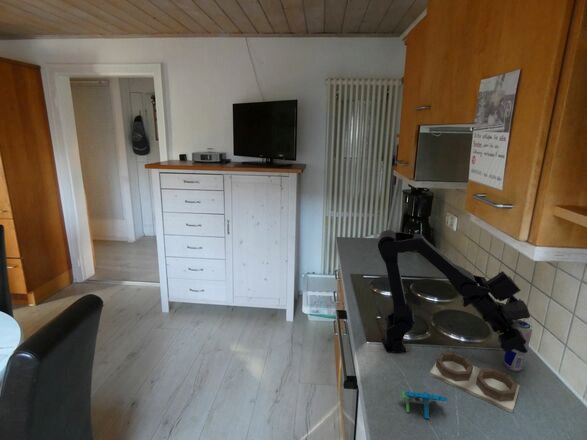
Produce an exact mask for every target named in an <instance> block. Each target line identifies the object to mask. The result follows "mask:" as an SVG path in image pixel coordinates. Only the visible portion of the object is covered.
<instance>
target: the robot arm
mask: <svg viewBox="0 0 587 440" xmlns="http://www.w3.org/2000/svg"><path fill="white" fill-rule="evenodd" d="M377 249H378V251H379V255H380V256H381V257H380V258H382V261H383V262H384V263H385V267H386V273H387V278H388V283H389V288H390V293H391V299H392V303H393V312H391V313H389V314H388V315H387V316H386V321H385V324H386V326H385V335H384V337H385V338H381V343H382V346H383V347H384V350H385V351H386V353H406V352H407V348H406V346H405V345H404V338H405V336H406V334H407V333H408V332H410V331H411V330H412V329H413V325H414V324H415V312H414V310H413V302H412V301H411V302H408V301H407V299H406V295H405V291H404V286H403V285H404V284H403V281H402V275H401V270H400V263H399V253H400V254H401V253H403V254H404V253H407V252H411V251H413V252H414V251H415V252H416V251H417V252H418V253H419V255H421V256H422V257H423V258H424V259H426V260H427V261H428V262H429V263H430V264H431V265H432V266H433V267H435V268H436V270H438V271H439V272H441V273H442V274H443V275H444V276H445V277H446V279H448V281H449V282H450V284H451V285H452V287H453V288H454V289H455V291H456V292H457V293H458V295H460V296H461V303H462V307H464V308H466V307H467V306H469V305H471V306H472V307H473V308H474V309H475V310H476V311H477V312H478V313H479V315H480V316H481V318H482V320H483V321H484V322H485V323H488V325H489V326H490V327H491V330H492V332H494V333H496V332H498V331H499V333H500V335H498V336H497V342H498V344H499V347H500V348H501V350H503V351H504V353H505V352H509V351H512V350H514V349H515V350H517V351H520V352H522V353H526V352H527V353H528V351H529V350H527V349H526V348H525V346H524V344H525V343H526V340H525V338H524V336H523V334H522V333H521V331H519V330H518V329H515V328H512V327H511V325H512V324H514V321H513V320H522V319H526V320H527V319H529V318H531V313H530V310H529V309H528V306H527V304H526V303H525V301H524V300H522V299H521V298H517V297H516V296H515V295H516V294H518V293H519V292H521V291H522V290H521V288H520V287H519V286H518V284H517V283H516V282H515V281H514V279H512V277H511V276H509V275H508V274H507V273H505V271H504V270H502V271H500V272H499V273H497V274H496V275H495V276H492V277H491V278H490V279H488V280H486V277H484V276H481V275H480V276H479V275H475V274H473V273H472V272H471V271H469V270H467V269H466V268H464V267H462V266H460V265H457V264H455V263H454V262H453V261H451V260H450V259H449V257H446V255H444V253H442V252H441V251H440V250H439V249H438V248H437V247H435V246H434V245H433V244H432V243H430V242H429V241H428V240H427V239H426V238H425V236H424V235H422V234H421V233H408V232H403V231H402V232H401V231H395V232H394V231H393V230H390V229H387V230H383V231H382V232H381V233H380V234H379V237H378V242H377ZM497 300H498V301H497ZM505 300H506V301H505ZM503 301H505V303H504V302H503Z"/></svg>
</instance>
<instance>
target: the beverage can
mask: <svg viewBox="0 0 587 440" xmlns="http://www.w3.org/2000/svg"><path fill="white" fill-rule="evenodd" d="M513 321H514V324H512V325H511V327H512V328H515V329H518V330H519V331H521V333H522V334H523V336H524V338H525V340H526V343H525V344H524V346H525V348H526V349H527V351H529V350H528V349H529V345H530V341H531V337H532V333H533V325H532V324H531V323H530V322H528V321H526V320H522V319H519V320H513ZM527 353H528V352H526V353H522V352H520V351H517V350H515V349H514V350H512V351H509V352H505V351H504V357H503V364H504V365H505V366H506V368H507V369H508V370H510V371H513V372H519V371H522V370H524V366H525V362H526V357H527Z"/></svg>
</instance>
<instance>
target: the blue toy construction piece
mask: <svg viewBox="0 0 587 440" xmlns="http://www.w3.org/2000/svg"><path fill="white" fill-rule="evenodd" d="M400 393H401V394H400V396H401V397H402V398H404V399H403V400H404V402H405V405H406V406H405V407H406V408H405V409H406V412H407V413H410V403H415V404H421V405H423V408H424V410H423V413H424V414H423V415H424V418H425V419H430V416H429V414H430V413H429V406H430V402H431V401H441V402H448V397H447V396H443V395H438V394H429V392H428V391H423V392H416V391H413V392H412V391H403V390H401V392H400ZM415 398H417V399H422V401H418V400H412V399H415ZM430 400H431V401H430Z"/></svg>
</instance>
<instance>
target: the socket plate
mask: <svg viewBox="0 0 587 440" xmlns="http://www.w3.org/2000/svg"><path fill="white" fill-rule="evenodd" d="M429 376H431V377H433V378H434V379H435V378H436V379H438V380H439V381H442V382H444V383H447V384H449V385H450V386H452V387H454V388H457V389H459V390H461V391H463V392H466V393H468V394H470V395H472V396H474V397H477V398H478V399H481V400H482V401H484V402H488V403H489V404H492V405H494V406H495V407H498V408H500V409H503V410H504V411H507V412H508V413H511V414H513V412H514V408H515V405H516V401H517V397H518V394H519V391H520V388H521V384H519V383H517V382H516V381H515V380H514V379H513V378H512V377H511V376H510V375H509V374H508V373H505V372H503V371H501V370H498V369H496V368H480V367H477V366H474V365H473V364H472V363H471V362H470V360H469V359H468V358H467V356H463V355H461V354H459V353H456V352H454V351H450V352H449V351H447V352H440V353H439V355H438V357H437V358H436V362H435V364H434V365H433V367H432V368H431V369H430V372H429Z"/></svg>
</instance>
